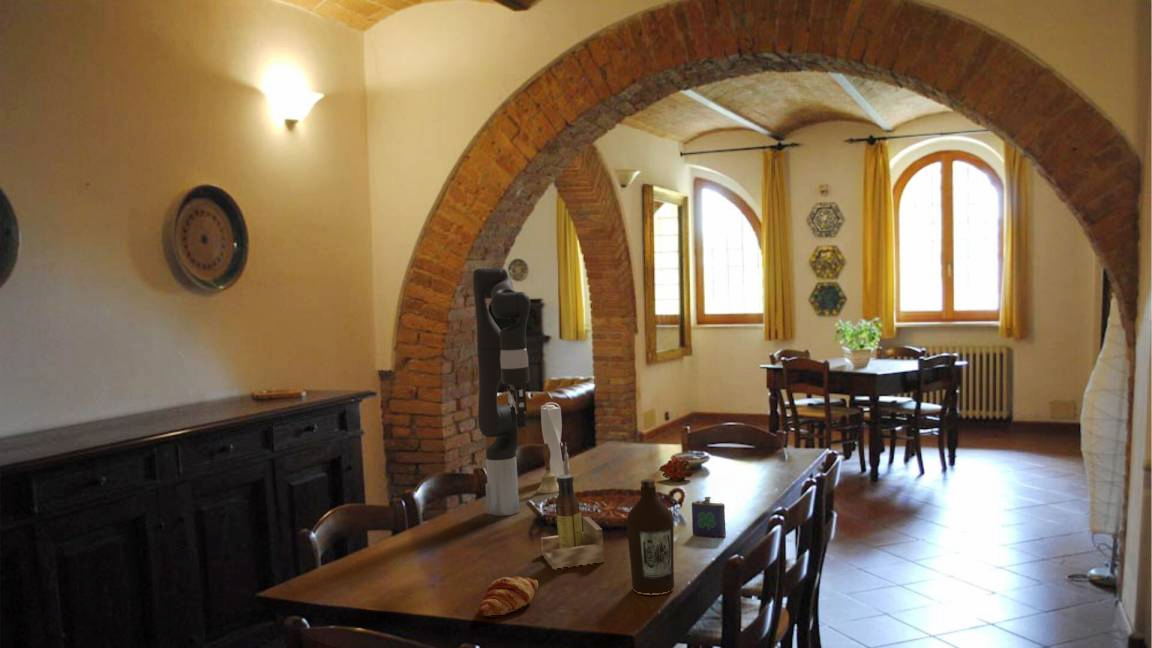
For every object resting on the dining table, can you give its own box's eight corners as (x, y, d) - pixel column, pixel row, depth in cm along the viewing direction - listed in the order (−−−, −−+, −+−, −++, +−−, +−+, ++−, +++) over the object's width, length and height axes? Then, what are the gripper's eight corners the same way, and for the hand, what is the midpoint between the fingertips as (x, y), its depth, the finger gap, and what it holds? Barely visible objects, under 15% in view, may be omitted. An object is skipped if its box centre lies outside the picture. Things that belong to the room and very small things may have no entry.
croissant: (526, 603, 216) (511, 571, 217) (558, 588, 211) (543, 555, 213) (473, 635, 197) (457, 600, 199) (506, 618, 193) (490, 583, 194)
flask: (727, 535, 248) (725, 496, 247) (723, 539, 245) (721, 499, 245) (694, 533, 252) (692, 494, 251) (690, 536, 249) (688, 497, 249)
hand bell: (543, 494, 305) (540, 447, 304) (533, 490, 312) (530, 443, 311) (566, 491, 309) (563, 443, 308) (555, 486, 316) (552, 440, 315)
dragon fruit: (696, 486, 312) (662, 489, 317) (698, 467, 318) (665, 470, 323) (687, 469, 307) (654, 473, 312) (690, 450, 314) (657, 454, 318)
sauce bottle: (579, 547, 240) (575, 471, 239) (587, 554, 234) (582, 476, 233) (555, 551, 238) (550, 475, 236) (562, 558, 232) (558, 479, 231)
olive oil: (624, 584, 214) (618, 478, 213) (668, 578, 216) (662, 473, 215) (637, 600, 204) (631, 488, 202) (683, 593, 206) (677, 483, 205)
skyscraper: (562, 482, 321) (558, 402, 319) (540, 482, 323) (536, 403, 322) (570, 477, 329) (566, 399, 327) (549, 476, 331) (544, 399, 330)
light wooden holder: (553, 569, 228) (551, 535, 227) (541, 554, 240) (540, 522, 240) (604, 562, 231) (602, 529, 231) (590, 548, 244) (588, 516, 243)
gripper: (533, 366, 245) (537, 427, 246) (522, 362, 259) (526, 419, 260) (505, 369, 243) (509, 430, 244) (496, 364, 257) (500, 422, 258)
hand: (518, 424), depth 252 cm, fingers open, 8 cm apart
